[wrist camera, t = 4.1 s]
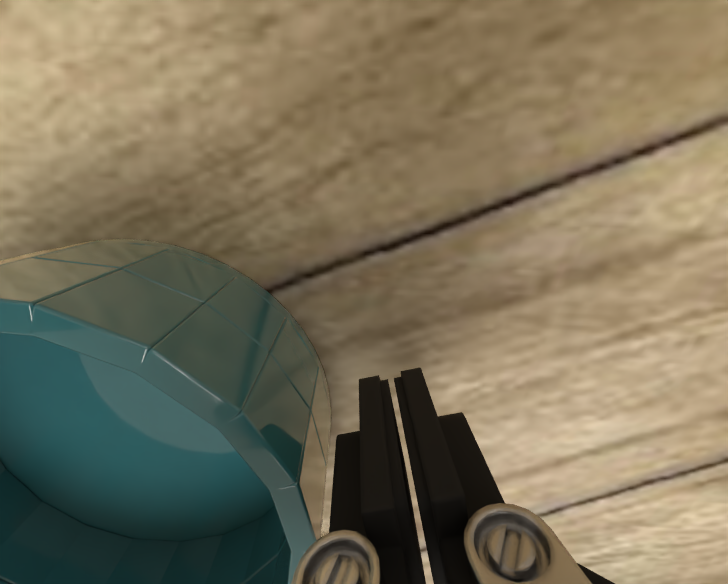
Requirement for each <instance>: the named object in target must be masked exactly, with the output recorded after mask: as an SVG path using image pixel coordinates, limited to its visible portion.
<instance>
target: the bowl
mask: <svg viewBox="0 0 728 584" xmlns="http://www.w3.org/2000/svg"><path fill="white" fill-rule="evenodd" d="M330 427H331V406H330V397H329V389H328V385H327V381H326V377H325V374H324V370H323V367H322V365H321V363H320V360H319V358H318V356H317V353H316V351H315V349H314V347H313V346H312V344H311V342H310V341H309V339H308V337H307V336H306V334H305V332H304V331H303V329H302V328H301V327H300V325H299V324H298V323H297V322H296V320H295V319H294V318H293V317H292V315H291V314H290V313H289V312H288V311H287V310H286V309H285V308H284V307H283V306H282V305H281V304H280V303H279V302H278V301H277V300H276V299H275V298H274V297H273V296H272V295H271V294H270V293H268V292H267V291H266V290H264V289H263V288H262V287H261V286H259V285H258V284H257V283H255V282H254V281H253V280H251V279H250V278H248V277H247V276H245V275H243V274H242V273H240V272H238V271H237V270H235V269H233V268H231V267H230V266H228V265H226V264H224V263H222V262H220V261H217V260H215V259H213V258H210V257H208V256H206V255H204V254H201V253H198V252H195V251H192V250H188V249H185V248H182V247H179V246H176V245H171V244H165V243H160V242H154V241H149V240H134V239H108V240H94V241H89V242H84V243H79V244H74V245H69V246H65V247H60V248H55V249H50V250H44V251H39V252H34V253H30V254H26V255H22V256H18V257H13V258H9V259H5V260H1V261H0V584H291V583H292V579H293V576H294V573H295V570H296V568H297V565H298V563H299V561H300V559H301V557H302V556H303V554H304V553H305V552H306V550H307V549H308V548H309V547H310V546H311V545H312V544H313V543H314V542H315V541H317V540H318V539H319V538H320V537H321V527H322V516H323V505H324V493H325V482H326V470H327V460H328V449H329V438H330Z"/></svg>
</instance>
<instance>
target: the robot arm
mask: <svg viewBox="0 0 728 584" xmlns="http://www.w3.org/2000/svg"><path fill="white" fill-rule="evenodd" d="M394 382H395V387H396V392H397V397H398V403H399V408H400V413H401V418H402V423H403V428H404V434H405V439H406V444H407V449H408V454H409V460H410V465H411V470H412V475H413V480H414V485H415V491H416V496H417V501H418V506H419V511H420V516H421V521H422V526H423V531H424V536H425V541H426V546H427V551H428V556H429V561H430V567H431V572H432V577H433V582H434V584H615V583H613V582H611V581H609V580H607V579H605V578H604V577H602V576H600V575H598V574H596V573H594V572H593V571H591V570H589V569H587V568H585V567H583V566H582V565H580V564H578V563H576V562H575V560H574V559H573V558H572V556H571V555H570V554H569V552H568V551H567V549H566V548H565V547H564V545H563V544H562V543H561V541H560V540H559V539H558V537H557V536H556V535H555V533H554V532H553V531H552V529H551V528H550V527H549V526H548V525H547V524H546V523H545V522H544V521H543V520H542V519H541V518H540V517H538V516H537V515H535V514H534V513H532V512H531V511H529V510H527V509H525V508H522V507H519V506H517V505H513V504H505V502H504V500H503V498H502V496H501V494H500V492H499V490H498V487H497V485H496V483H495V481H494V479H493V477H492V474H491V472H490V470H489V468H488V466H487V464H486V461H485V459H484V457H483V455H482V453H481V451H480V448H479V446H478V444H477V442H476V440H475V438H474V435H473V433H472V431H471V429H470V427H469V425H468V422H467V420H466V418H465V416H464V414H463V413H462V412H461V413H455V414H450V415H444V416H439V417H438V416H437V414H436V411H435V408H434V405H433V402H432V399H431V396H430V393H429V391H428V388H427V385H426V382H425V379H424V376H423V373H422V370H421V368H416V369H410V370H405V371H401V377H397V378H394ZM359 419H360V431H356V432H351V433H345V434H340V435H338V436H337V439H336V450H335V463H334V476H333V489H332V502H331V516H330V529H329V534H327V535H325V536H323V537H320V538H319V539H318V540H317V541H315V542H314V543H313V544H312V545H311V546H310V547H309V548H308V549H307V550H306V552H305V553H304V554H303V556H302V557H301V559H300V561H299V563H298V565H297V568H296V570H295V573H294V576H293V579H292V583H291V584H426V581H425V576H424V570H423V564H422V558H421V553H420V547H419V541H418V535H417V530H416V524H415V518H414V512H413V507H412V501H411V495H410V489H409V484H408V478H407V472H406V467H405V462H404V456H403V452H402V447H401V442H400V437H399V432H398V427H397V422H396V417H395V412H394V408H393V403H392V398H391V393H390V388H389V383H388V379H387V380H382V381H380V378H379V375H378V376H373V377H368V378H362V379H359Z"/></svg>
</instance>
